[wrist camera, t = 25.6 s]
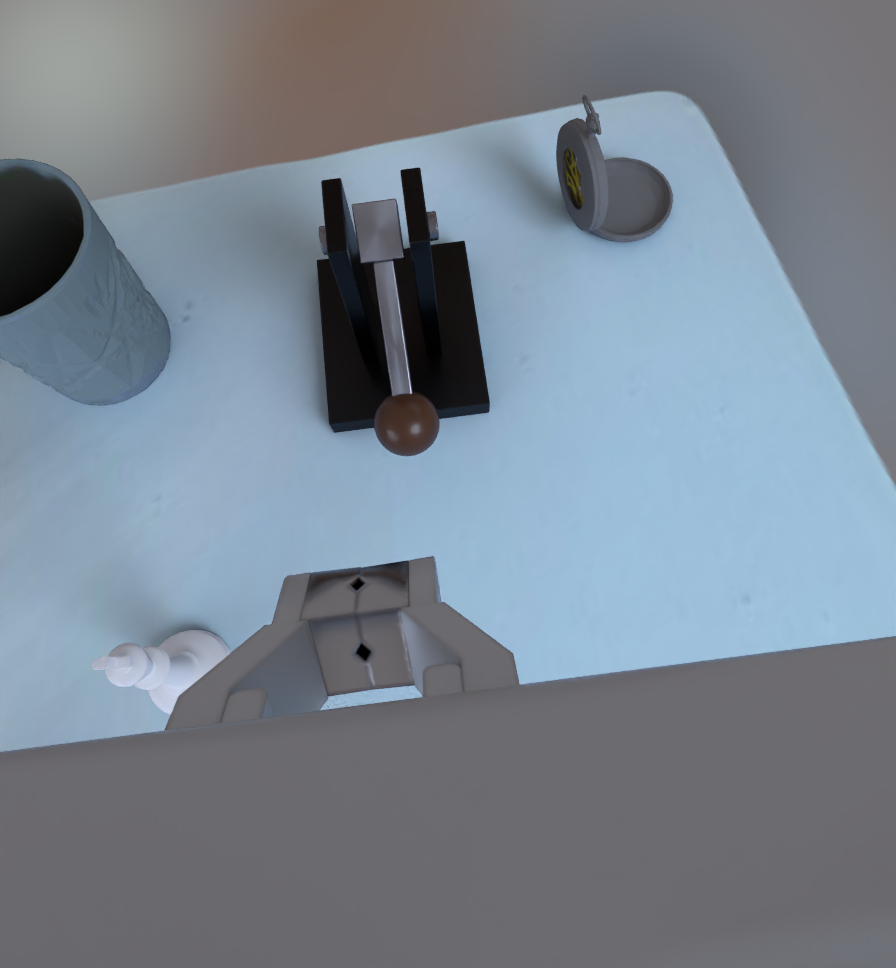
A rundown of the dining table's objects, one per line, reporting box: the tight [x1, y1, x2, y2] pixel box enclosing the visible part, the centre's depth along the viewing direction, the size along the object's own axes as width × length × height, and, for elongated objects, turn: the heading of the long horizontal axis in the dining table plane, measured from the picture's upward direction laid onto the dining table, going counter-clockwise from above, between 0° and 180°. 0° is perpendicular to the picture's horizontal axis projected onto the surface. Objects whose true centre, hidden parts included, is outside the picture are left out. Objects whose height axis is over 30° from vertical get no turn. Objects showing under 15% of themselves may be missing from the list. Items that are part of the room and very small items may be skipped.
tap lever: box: [352, 199, 440, 456], centre depth 38 cm, size 13×4×4 cm, turn 6°
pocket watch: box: [556, 95, 673, 242], centre depth 44 cm, size 8×8×10 cm
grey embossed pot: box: [0, 159, 170, 405], centre depth 42 cm, size 10×10×12 cm
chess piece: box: [92, 630, 231, 715], centre depth 36 cm, size 5×5×10 cm
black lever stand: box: [317, 168, 490, 433], centre depth 41 cm, size 12×10×13 cm
